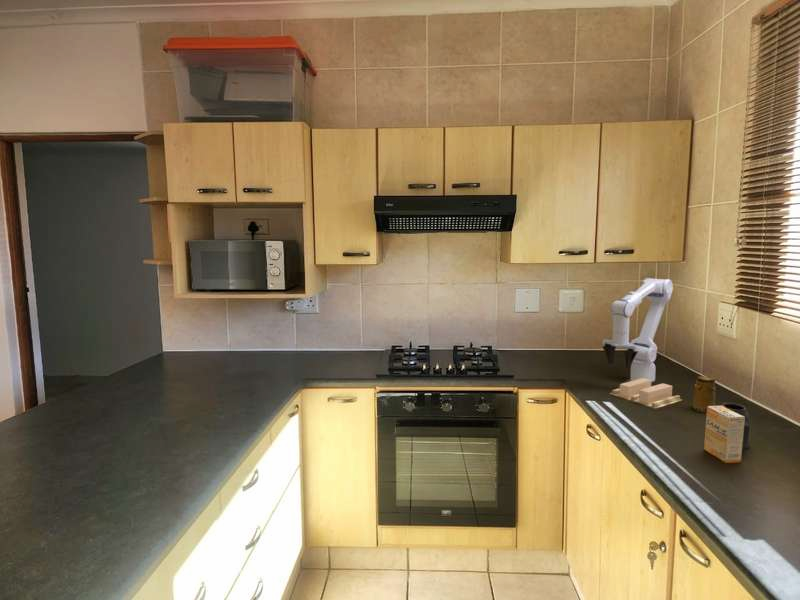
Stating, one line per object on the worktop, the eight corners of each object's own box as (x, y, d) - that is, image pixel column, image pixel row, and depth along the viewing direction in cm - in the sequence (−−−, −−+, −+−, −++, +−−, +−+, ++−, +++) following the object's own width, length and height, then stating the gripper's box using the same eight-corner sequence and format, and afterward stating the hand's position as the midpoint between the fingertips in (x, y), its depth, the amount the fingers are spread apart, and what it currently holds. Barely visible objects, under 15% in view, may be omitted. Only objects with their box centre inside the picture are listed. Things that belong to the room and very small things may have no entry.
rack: (636, 388, 187) (636, 382, 187) (682, 402, 171) (682, 396, 171) (609, 395, 180) (609, 389, 179) (655, 410, 164) (655, 404, 163)
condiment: (700, 407, 166) (702, 374, 165) (725, 414, 159) (727, 380, 157) (686, 410, 163) (688, 377, 161) (712, 419, 155) (714, 383, 154)
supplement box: (702, 450, 134) (705, 405, 132) (718, 449, 134) (721, 404, 132) (725, 463, 125) (728, 416, 124) (742, 462, 126) (745, 415, 124)
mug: (707, 435, 143) (709, 400, 141) (741, 437, 141) (744, 401, 139) (725, 453, 131) (728, 414, 130) (762, 455, 129) (765, 416, 128)
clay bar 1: (641, 389, 184) (642, 377, 183) (650, 391, 181) (651, 380, 180) (619, 395, 177) (619, 384, 176) (628, 398, 174) (628, 386, 173)
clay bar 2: (662, 394, 177) (663, 383, 176) (671, 397, 174) (672, 385, 173) (638, 401, 170) (639, 389, 170) (648, 404, 167) (648, 392, 166)
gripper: (598, 329, 187) (596, 363, 189) (631, 336, 175) (630, 371, 177) (609, 327, 191) (608, 360, 192) (643, 333, 178) (641, 368, 180)
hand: (619, 365), depth 185 cm, fingers open, 7 cm apart
